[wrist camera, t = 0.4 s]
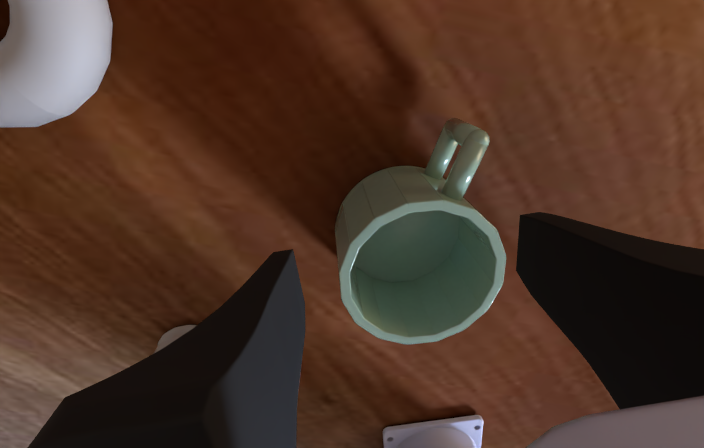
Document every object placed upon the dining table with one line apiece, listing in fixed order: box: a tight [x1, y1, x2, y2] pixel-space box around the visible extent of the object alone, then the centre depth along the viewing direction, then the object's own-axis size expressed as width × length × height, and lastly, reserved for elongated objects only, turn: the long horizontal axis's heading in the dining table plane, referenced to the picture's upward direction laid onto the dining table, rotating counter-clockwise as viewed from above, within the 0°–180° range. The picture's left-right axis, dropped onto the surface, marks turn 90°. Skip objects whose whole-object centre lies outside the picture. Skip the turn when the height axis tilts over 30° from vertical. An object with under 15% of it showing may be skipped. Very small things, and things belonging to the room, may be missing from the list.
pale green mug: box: [335, 118, 506, 344], centre depth 19 cm, size 11×8×6 cm
